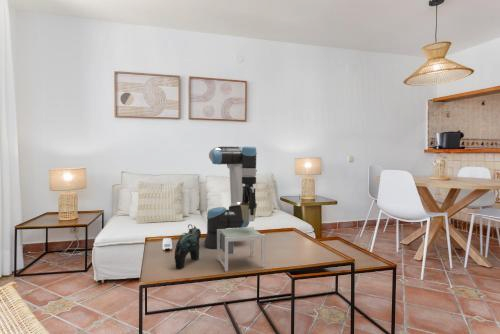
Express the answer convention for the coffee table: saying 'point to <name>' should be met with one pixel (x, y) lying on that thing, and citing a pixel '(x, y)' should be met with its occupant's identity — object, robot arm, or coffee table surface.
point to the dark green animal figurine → (187, 246)
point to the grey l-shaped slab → (232, 234)
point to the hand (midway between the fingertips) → (248, 219)
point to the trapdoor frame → (240, 238)
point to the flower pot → (246, 211)
